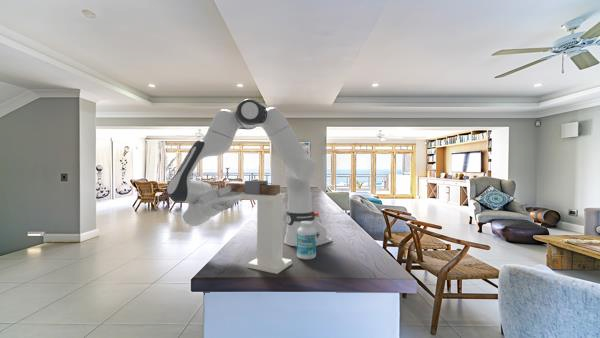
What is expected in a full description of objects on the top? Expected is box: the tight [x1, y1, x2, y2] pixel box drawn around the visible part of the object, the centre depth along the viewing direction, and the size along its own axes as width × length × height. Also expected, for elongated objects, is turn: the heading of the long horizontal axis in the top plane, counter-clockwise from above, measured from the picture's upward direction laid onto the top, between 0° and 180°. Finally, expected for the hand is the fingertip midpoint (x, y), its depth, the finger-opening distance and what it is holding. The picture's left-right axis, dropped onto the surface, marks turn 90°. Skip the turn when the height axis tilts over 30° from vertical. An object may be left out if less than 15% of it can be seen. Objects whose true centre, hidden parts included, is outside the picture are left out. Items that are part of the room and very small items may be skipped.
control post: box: [241, 179, 293, 275], centre depth 96 cm, size 15×10×30 cm, turn 63°
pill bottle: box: [296, 221, 317, 260], centre depth 105 cm, size 8×7×14 cm
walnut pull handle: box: [229, 182, 281, 195], centre depth 98 cm, size 20×3×3 cm, turn 63°
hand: (238, 186), depth 101 cm, fingers open, 8 cm apart
